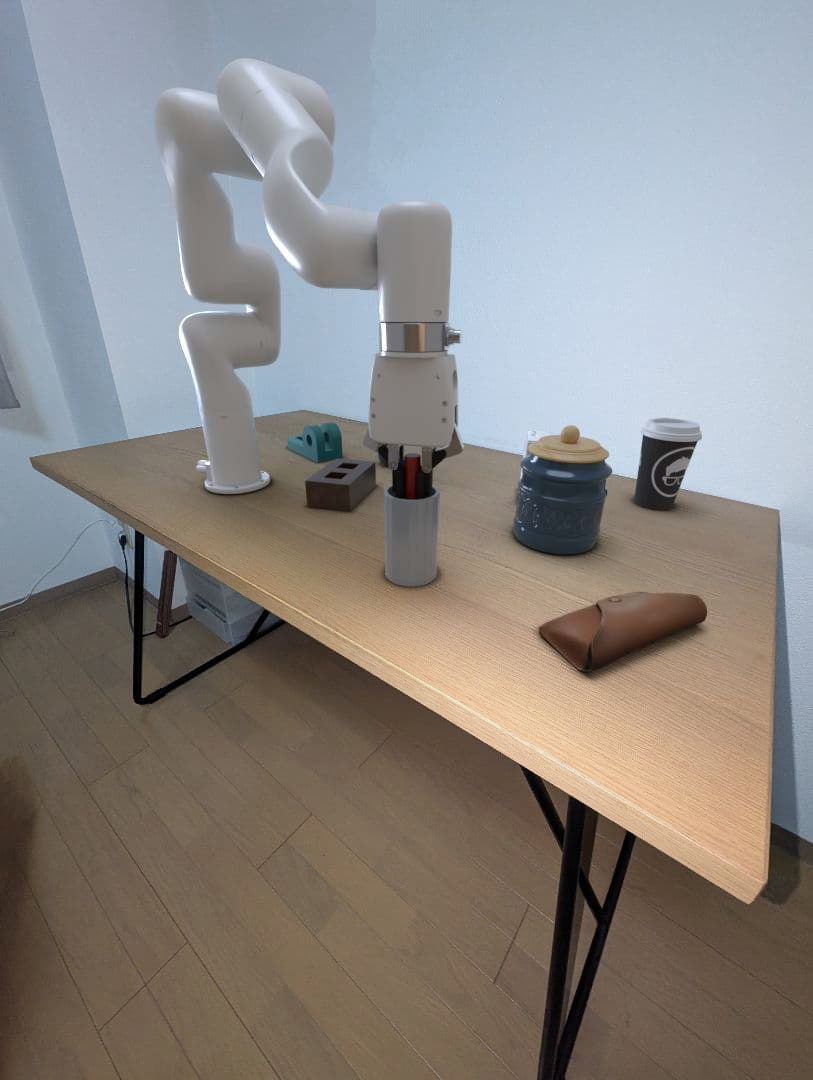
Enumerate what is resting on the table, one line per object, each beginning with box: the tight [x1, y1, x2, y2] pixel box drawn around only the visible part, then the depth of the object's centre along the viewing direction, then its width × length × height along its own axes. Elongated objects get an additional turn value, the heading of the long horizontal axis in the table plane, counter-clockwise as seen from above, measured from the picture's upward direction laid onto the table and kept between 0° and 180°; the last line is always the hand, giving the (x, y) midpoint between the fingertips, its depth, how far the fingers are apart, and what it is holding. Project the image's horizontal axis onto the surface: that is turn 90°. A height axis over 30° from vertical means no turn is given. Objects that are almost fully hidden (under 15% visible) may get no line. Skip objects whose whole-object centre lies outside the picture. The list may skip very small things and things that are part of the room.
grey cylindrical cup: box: [383, 483, 441, 588], centre depth 62 cm, size 7×7×12 cm
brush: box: [404, 452, 422, 500], centre depth 61 cm, size 3×3×16 cm
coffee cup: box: [633, 417, 703, 511], centre depth 84 cm, size 10×10×15 cm
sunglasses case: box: [538, 591, 708, 673], centre depth 52 cm, size 18×7×7 cm
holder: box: [304, 458, 377, 512], centre depth 90 cm, size 8×14×5 cm, turn 165°
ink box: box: [519, 430, 554, 480], centre depth 88 cm, size 9×5×12 cm, turn 167°
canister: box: [512, 424, 613, 555], centre depth 71 cm, size 13×13×18 cm
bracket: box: [286, 421, 344, 464], centre depth 116 cm, size 18×7×8 cm, turn 39°
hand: (412, 497), depth 59 cm, fingers closed on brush, 2 cm apart
